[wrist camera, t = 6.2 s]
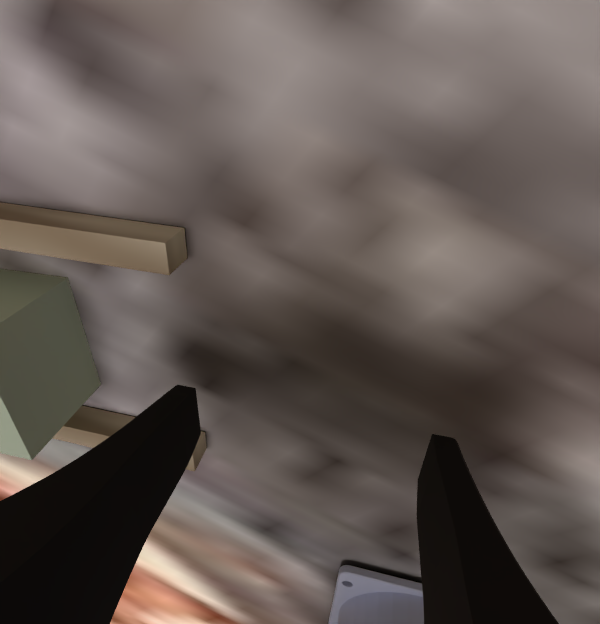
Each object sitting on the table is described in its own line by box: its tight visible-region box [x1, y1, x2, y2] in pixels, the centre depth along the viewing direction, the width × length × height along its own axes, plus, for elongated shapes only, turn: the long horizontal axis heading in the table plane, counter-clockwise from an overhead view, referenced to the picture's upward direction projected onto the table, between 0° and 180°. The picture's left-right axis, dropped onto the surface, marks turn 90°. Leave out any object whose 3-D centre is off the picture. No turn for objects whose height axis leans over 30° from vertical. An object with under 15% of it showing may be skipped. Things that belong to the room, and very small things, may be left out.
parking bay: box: [0, 202, 207, 471], centre depth 16 cm, size 10×12×1 cm
